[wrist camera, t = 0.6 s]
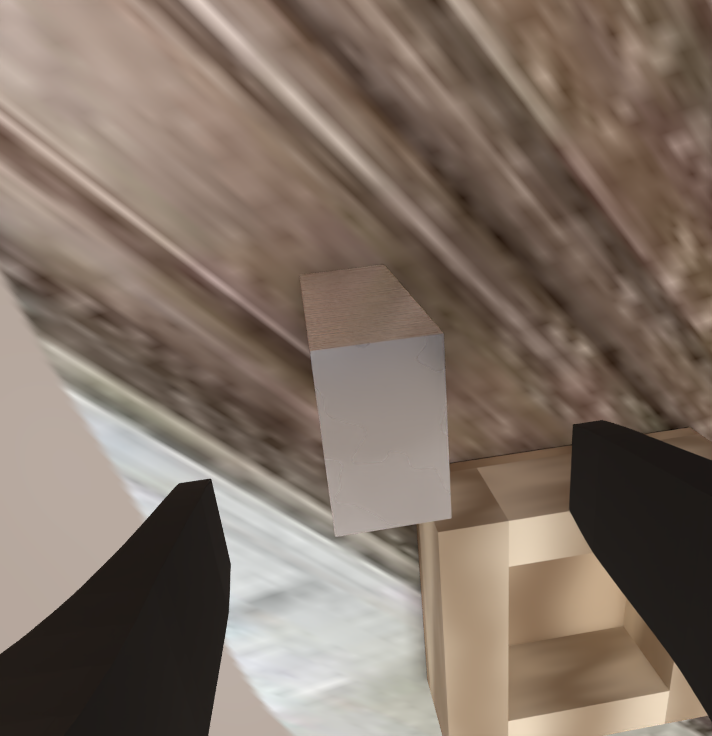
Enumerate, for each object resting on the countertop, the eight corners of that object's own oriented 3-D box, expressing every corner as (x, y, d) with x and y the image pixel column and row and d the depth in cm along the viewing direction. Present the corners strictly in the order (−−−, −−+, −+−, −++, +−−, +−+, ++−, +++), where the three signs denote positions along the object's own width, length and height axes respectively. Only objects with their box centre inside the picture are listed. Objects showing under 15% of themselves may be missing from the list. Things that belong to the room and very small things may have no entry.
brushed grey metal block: (384, 264, 20) (443, 332, 13) (394, 392, 22) (451, 518, 15) (299, 274, 20) (310, 351, 12) (316, 403, 22) (335, 536, 14)
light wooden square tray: (689, 427, 24) (765, 479, 20) (661, 638, 29) (718, 713, 25) (412, 469, 23) (438, 532, 19) (427, 680, 28) (450, 765, 24)
